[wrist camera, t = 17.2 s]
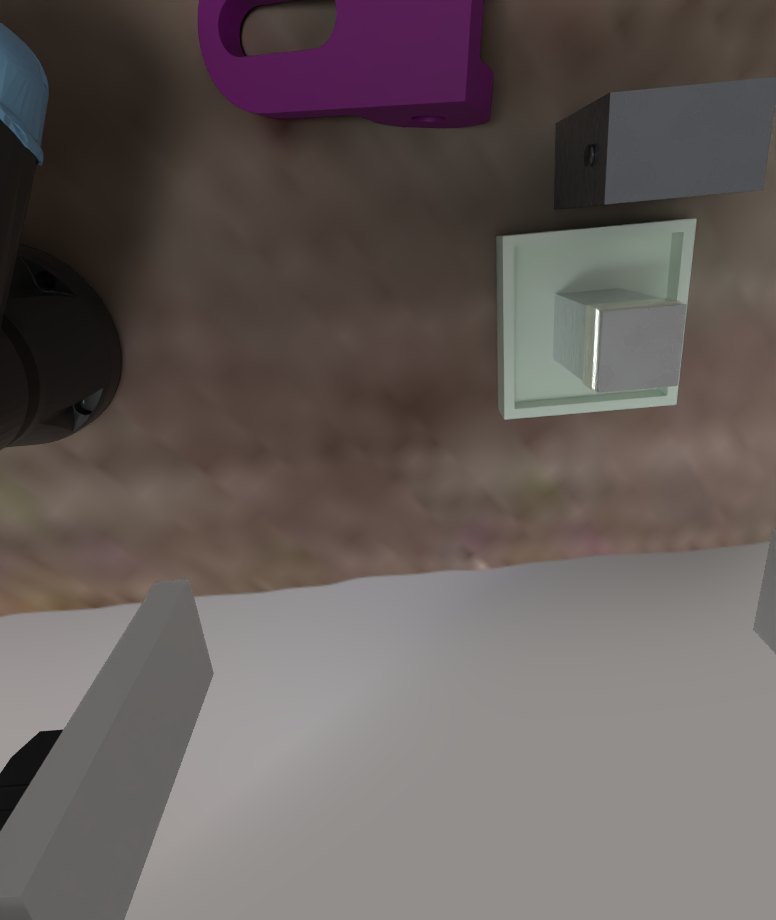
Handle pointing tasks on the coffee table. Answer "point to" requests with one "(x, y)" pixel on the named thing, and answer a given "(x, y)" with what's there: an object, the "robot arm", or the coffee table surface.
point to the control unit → (665, 143)
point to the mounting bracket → (360, 64)
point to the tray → (575, 270)
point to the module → (619, 338)
